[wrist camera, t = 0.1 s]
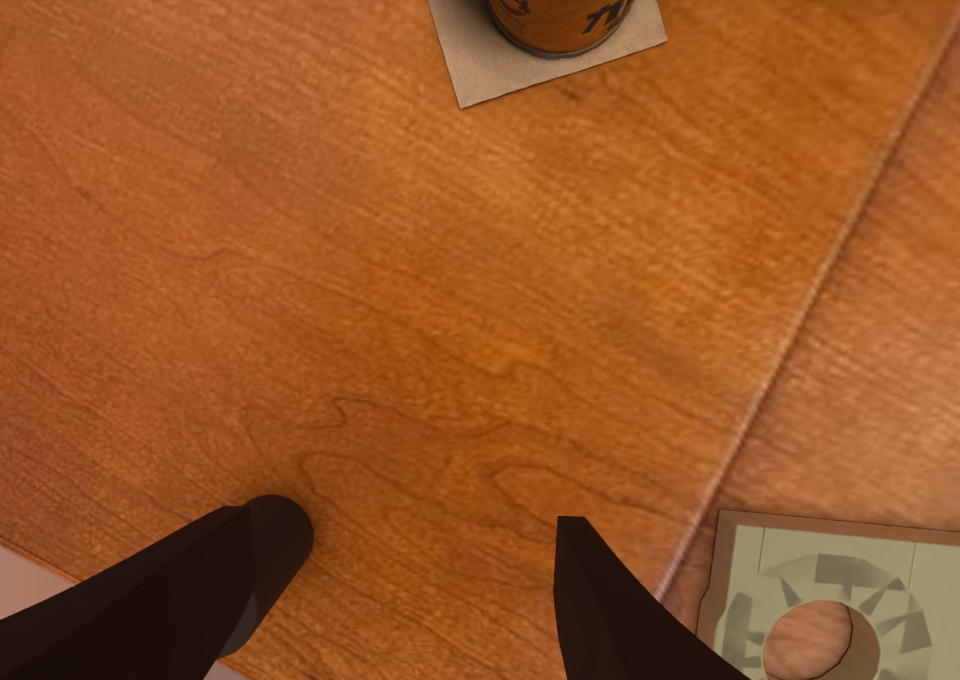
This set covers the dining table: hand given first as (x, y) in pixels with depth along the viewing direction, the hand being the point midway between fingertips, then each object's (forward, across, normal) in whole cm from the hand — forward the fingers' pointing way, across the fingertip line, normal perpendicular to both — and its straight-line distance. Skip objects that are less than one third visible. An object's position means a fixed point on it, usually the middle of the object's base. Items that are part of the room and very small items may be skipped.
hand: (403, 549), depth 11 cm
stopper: (+8, +7, +6) cm, 12 cm away
